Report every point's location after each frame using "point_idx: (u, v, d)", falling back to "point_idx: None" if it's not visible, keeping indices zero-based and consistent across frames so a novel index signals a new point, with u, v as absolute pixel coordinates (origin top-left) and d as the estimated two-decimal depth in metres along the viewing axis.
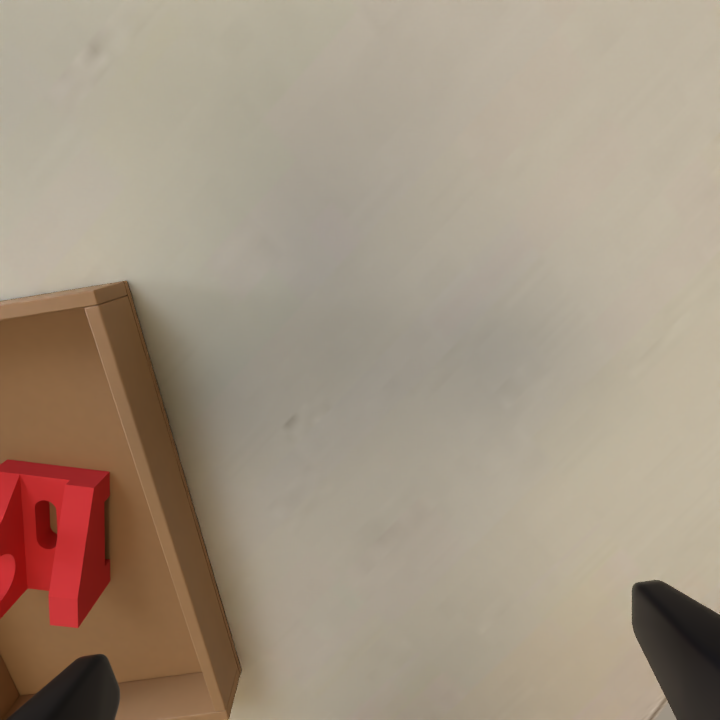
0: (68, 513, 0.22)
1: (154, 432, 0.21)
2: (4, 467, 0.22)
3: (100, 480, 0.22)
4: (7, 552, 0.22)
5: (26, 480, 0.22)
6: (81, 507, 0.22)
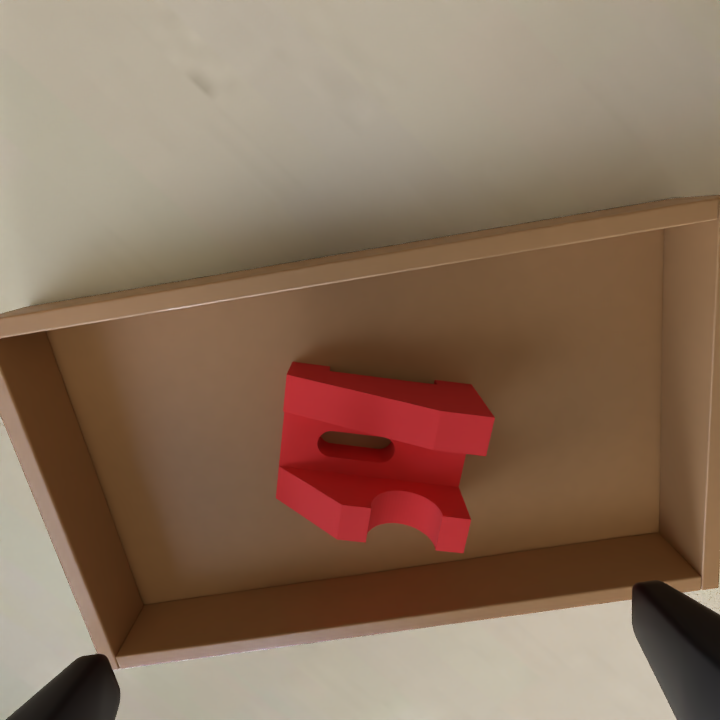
0: (319, 410, 0.15)
1: (197, 281, 0.15)
2: None
3: (289, 369, 0.16)
4: (375, 494, 0.16)
5: (287, 459, 0.17)
6: (312, 392, 0.15)
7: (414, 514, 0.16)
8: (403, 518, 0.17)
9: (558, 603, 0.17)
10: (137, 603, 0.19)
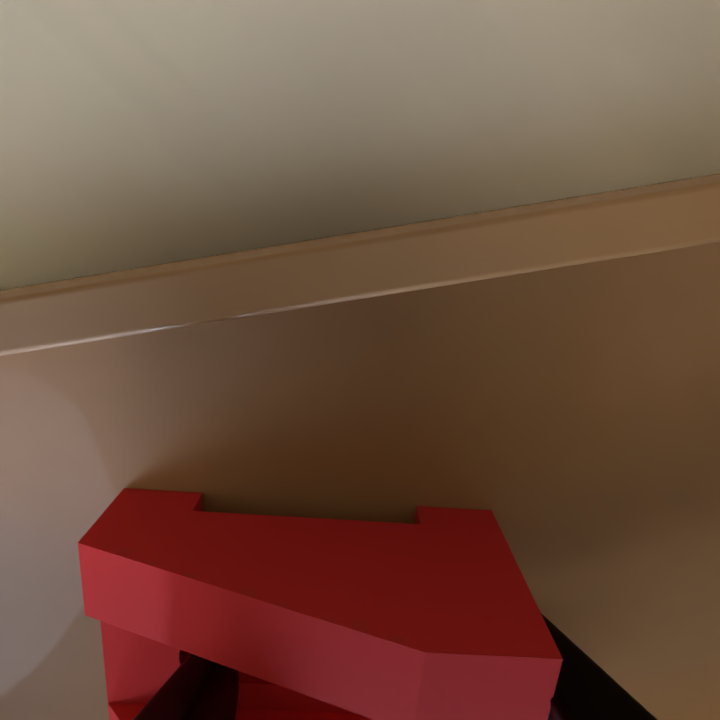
0: (153, 622, 0.07)
1: None
2: None
3: (101, 518, 0.08)
4: None
5: (124, 691, 0.08)
6: (133, 584, 0.07)
7: None
8: None
9: None
10: None
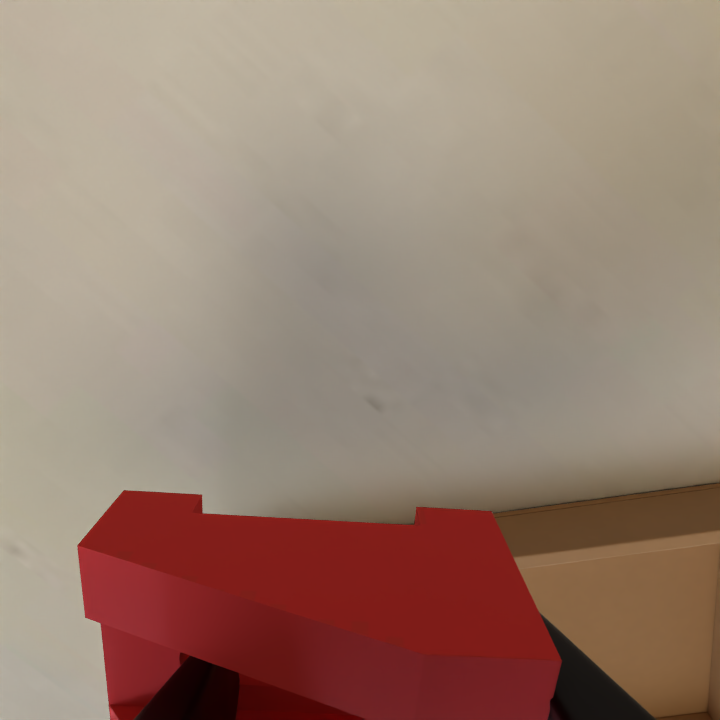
0: (153, 624, 0.07)
1: None
2: None
3: (101, 520, 0.08)
4: None
5: (125, 693, 0.08)
6: (133, 587, 0.07)
7: None
8: None
9: None
10: None
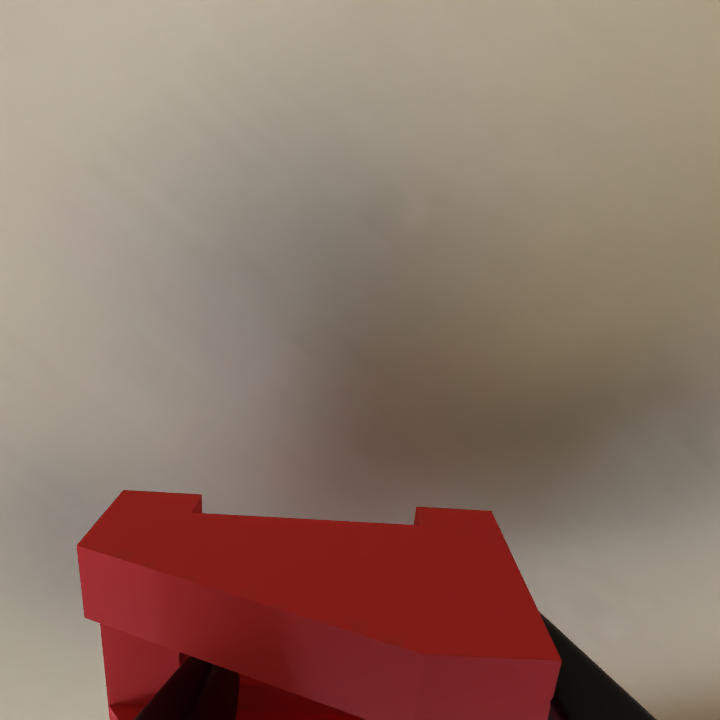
0: (153, 624, 0.07)
1: None
2: None
3: (99, 520, 0.08)
4: None
5: (124, 693, 0.08)
6: (132, 587, 0.07)
7: None
8: None
9: None
10: None
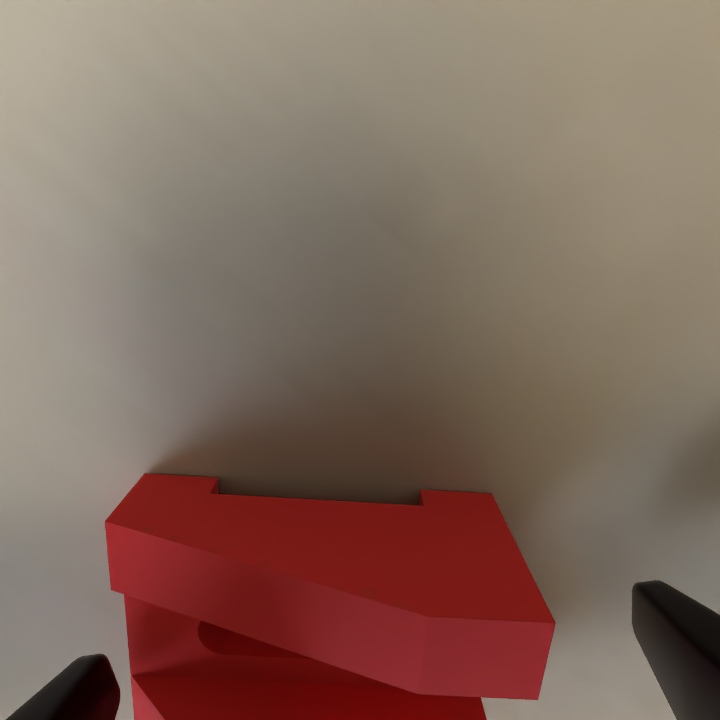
0: (176, 594, 0.07)
1: None
2: None
3: (124, 500, 0.08)
4: None
5: (146, 664, 0.09)
6: (157, 559, 0.07)
7: None
8: None
9: None
10: None
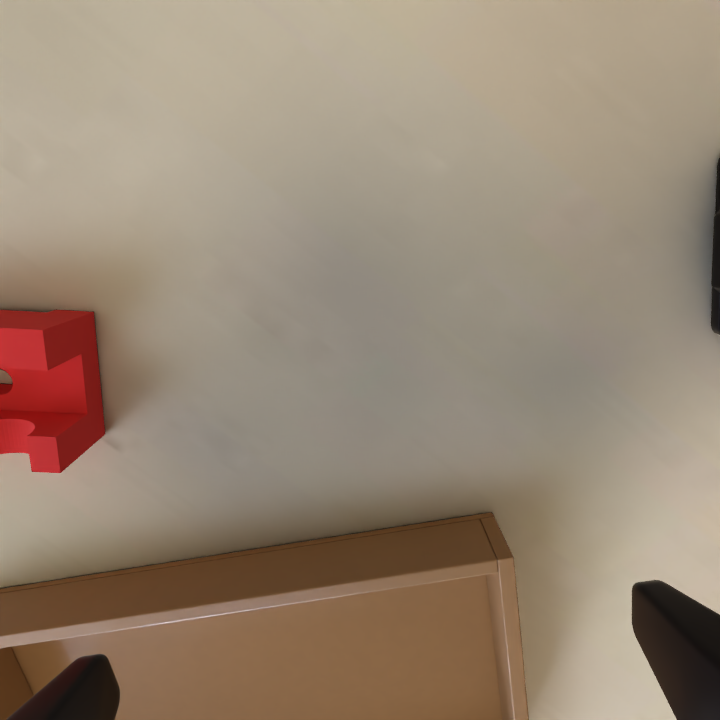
0: None
1: (110, 596, 0.19)
2: None
3: None
4: None
5: None
6: None
7: None
8: (24, 447, 0.17)
9: None
10: None
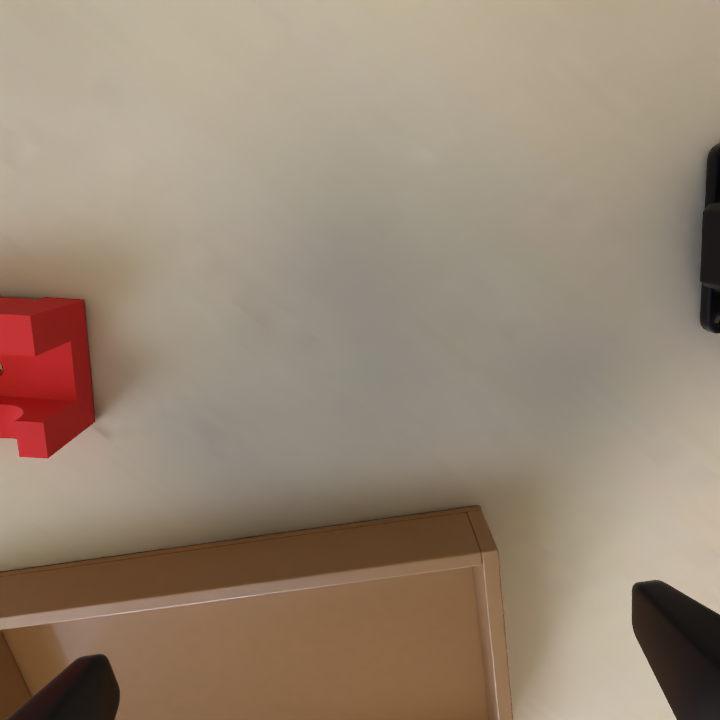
0: None
1: (98, 582, 0.19)
2: None
3: None
4: None
5: None
6: None
7: None
8: (14, 432, 0.17)
9: None
10: None
